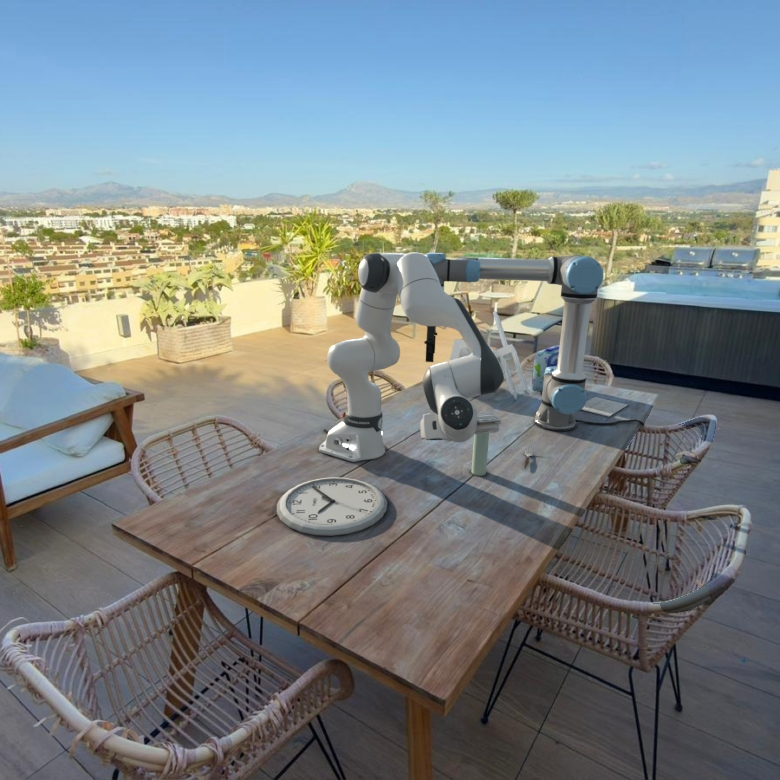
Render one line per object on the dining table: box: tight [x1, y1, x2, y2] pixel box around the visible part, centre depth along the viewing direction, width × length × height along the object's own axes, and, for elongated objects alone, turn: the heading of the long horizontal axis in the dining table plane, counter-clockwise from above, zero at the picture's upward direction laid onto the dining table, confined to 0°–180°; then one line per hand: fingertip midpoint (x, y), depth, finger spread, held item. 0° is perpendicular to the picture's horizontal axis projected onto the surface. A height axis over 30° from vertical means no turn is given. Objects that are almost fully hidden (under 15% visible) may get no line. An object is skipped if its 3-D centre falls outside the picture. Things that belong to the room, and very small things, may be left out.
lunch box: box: [531, 344, 560, 393], centre depth 245 cm, size 26×11×21 cm, turn 134°
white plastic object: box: [449, 310, 531, 400], centre depth 245 cm, size 37×45×31 cm
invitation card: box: [580, 396, 629, 418], centre depth 226 cm, size 21×1×15 cm
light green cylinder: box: [470, 433, 490, 477], centre depth 161 cm, size 4×4×16 cm
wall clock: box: [276, 476, 388, 537], centre depth 142 cm, size 30×2×30 cm
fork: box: [524, 445, 535, 469], centre depth 172 cm, size 3×16×2 cm, turn 160°
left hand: (459, 431), depth 141 cm, fingers open, 8 cm apart
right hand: (430, 357), depth 190 cm, fingers open, 13 cm apart
